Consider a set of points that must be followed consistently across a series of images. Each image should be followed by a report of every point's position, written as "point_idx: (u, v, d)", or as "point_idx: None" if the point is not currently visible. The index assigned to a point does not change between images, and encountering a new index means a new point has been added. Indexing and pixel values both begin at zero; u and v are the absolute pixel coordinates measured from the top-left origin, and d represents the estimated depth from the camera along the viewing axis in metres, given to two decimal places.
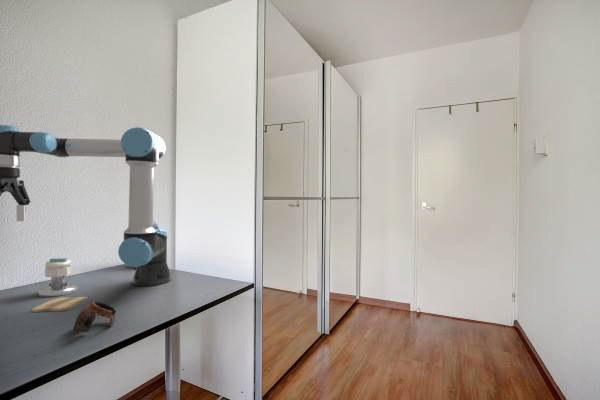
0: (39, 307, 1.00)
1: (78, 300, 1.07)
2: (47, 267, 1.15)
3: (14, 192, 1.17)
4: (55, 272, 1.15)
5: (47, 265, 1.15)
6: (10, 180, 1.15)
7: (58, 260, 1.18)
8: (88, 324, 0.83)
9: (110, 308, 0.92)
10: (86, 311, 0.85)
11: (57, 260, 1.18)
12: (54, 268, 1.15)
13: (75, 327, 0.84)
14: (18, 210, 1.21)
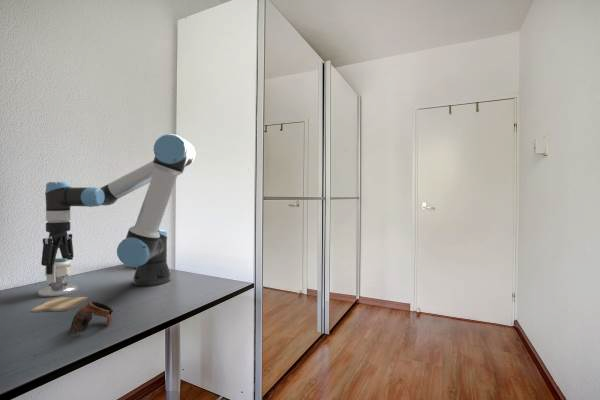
0: (39, 307, 1.00)
1: (78, 300, 1.07)
2: None
3: (63, 245, 1.20)
4: None
5: None
6: (62, 234, 1.19)
7: (58, 260, 1.18)
8: (85, 324, 0.84)
9: (107, 308, 0.92)
10: (83, 310, 0.85)
11: (57, 260, 1.18)
12: None
13: (72, 327, 0.84)
14: None
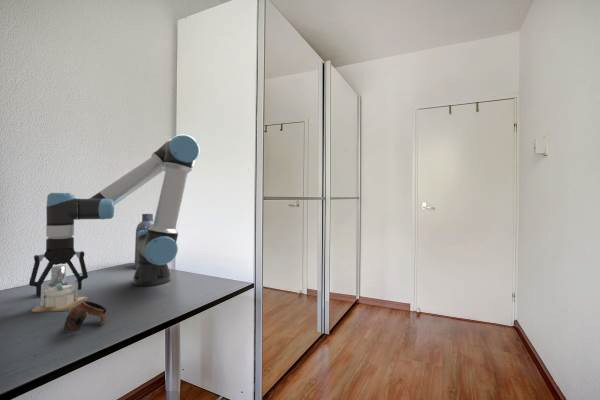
0: (39, 307, 1.00)
1: (78, 300, 1.07)
2: None
3: (68, 264, 1.05)
4: (45, 301, 1.01)
5: None
6: (61, 252, 1.04)
7: (57, 287, 1.04)
8: (79, 323, 0.84)
9: (100, 307, 0.92)
10: (77, 310, 0.86)
11: (57, 287, 1.04)
12: (45, 296, 1.01)
13: (65, 326, 0.85)
14: (74, 287, 1.08)
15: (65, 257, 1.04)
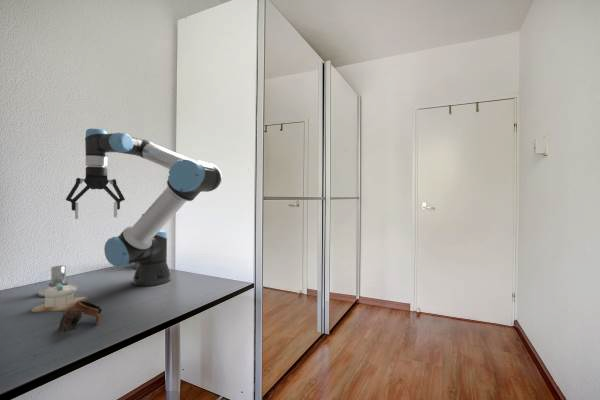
0: (39, 307, 1.00)
1: (78, 300, 1.07)
2: None
3: (105, 189, 1.27)
4: (45, 301, 1.01)
5: None
6: (98, 179, 1.24)
7: (57, 287, 1.04)
8: (75, 323, 0.84)
9: (95, 307, 0.93)
10: (72, 309, 0.86)
11: (57, 287, 1.04)
12: (45, 296, 1.01)
13: (61, 326, 0.85)
14: (114, 207, 1.30)
15: (101, 183, 1.25)
